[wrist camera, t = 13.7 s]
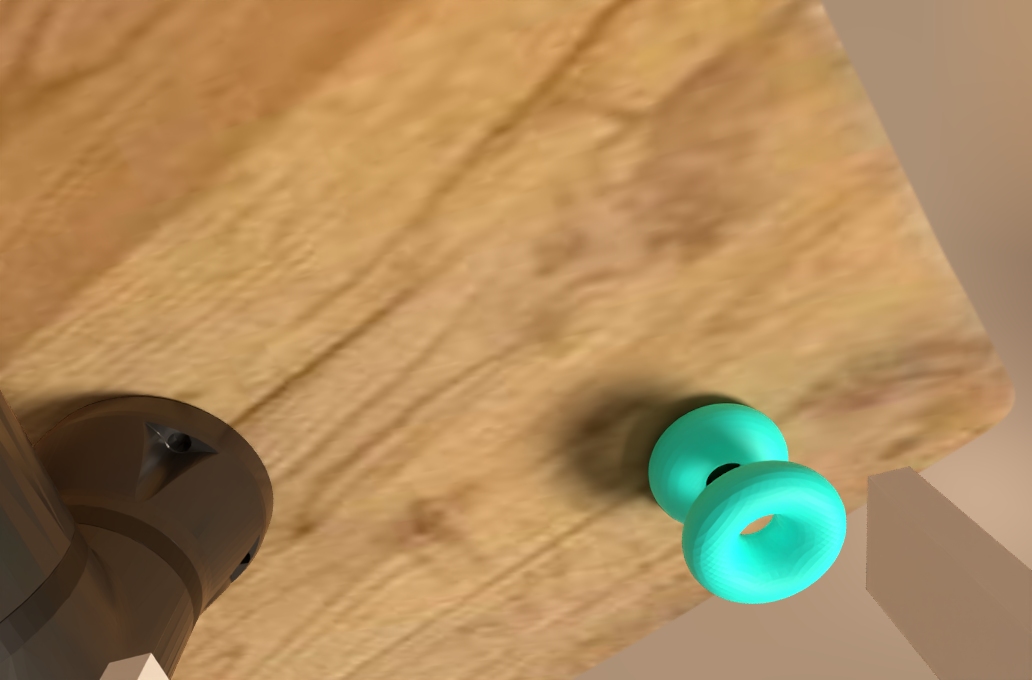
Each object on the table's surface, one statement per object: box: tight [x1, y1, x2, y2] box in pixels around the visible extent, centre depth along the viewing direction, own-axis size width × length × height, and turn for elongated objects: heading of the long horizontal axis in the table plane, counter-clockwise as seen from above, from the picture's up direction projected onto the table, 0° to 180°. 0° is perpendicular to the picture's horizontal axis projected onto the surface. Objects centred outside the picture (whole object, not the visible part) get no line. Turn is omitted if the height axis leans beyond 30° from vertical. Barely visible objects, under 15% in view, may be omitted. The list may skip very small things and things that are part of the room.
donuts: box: [648, 403, 846, 604], centre depth 41 cm, size 10×10×10 cm
